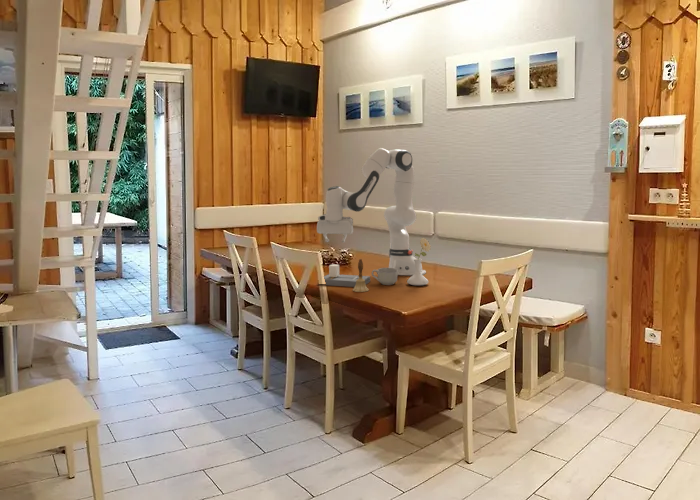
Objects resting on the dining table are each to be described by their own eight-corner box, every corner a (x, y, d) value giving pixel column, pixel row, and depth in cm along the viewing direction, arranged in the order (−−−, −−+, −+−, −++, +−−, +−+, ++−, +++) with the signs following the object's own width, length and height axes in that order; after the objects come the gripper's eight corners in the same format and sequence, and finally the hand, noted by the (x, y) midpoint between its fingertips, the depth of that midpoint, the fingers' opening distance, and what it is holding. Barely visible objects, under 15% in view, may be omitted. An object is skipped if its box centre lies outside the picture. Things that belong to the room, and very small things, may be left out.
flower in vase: (414, 287, 317) (415, 240, 314) (402, 284, 327) (403, 237, 324) (435, 285, 323) (436, 238, 320) (423, 281, 333) (423, 236, 330)
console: (370, 281, 334) (370, 276, 334) (361, 287, 319) (361, 281, 319) (329, 279, 342) (329, 273, 341) (318, 284, 327) (318, 278, 326)
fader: (339, 275, 334) (339, 264, 333) (336, 277, 329) (336, 266, 328) (332, 275, 335) (332, 264, 334) (329, 276, 330) (329, 265, 329)
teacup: (399, 282, 331) (400, 268, 330) (394, 286, 321) (394, 271, 320) (375, 281, 336) (375, 266, 334) (369, 285, 325) (369, 270, 324)
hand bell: (350, 289, 314) (349, 258, 312) (365, 288, 317) (365, 257, 315) (356, 292, 307) (355, 261, 304) (371, 291, 309) (371, 260, 307)
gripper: (354, 216, 331) (355, 241, 334) (319, 215, 338) (320, 240, 340) (351, 217, 326) (351, 243, 328) (315, 217, 332) (316, 242, 334)
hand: (335, 241), depth 334 cm, fingers open, 8 cm apart
